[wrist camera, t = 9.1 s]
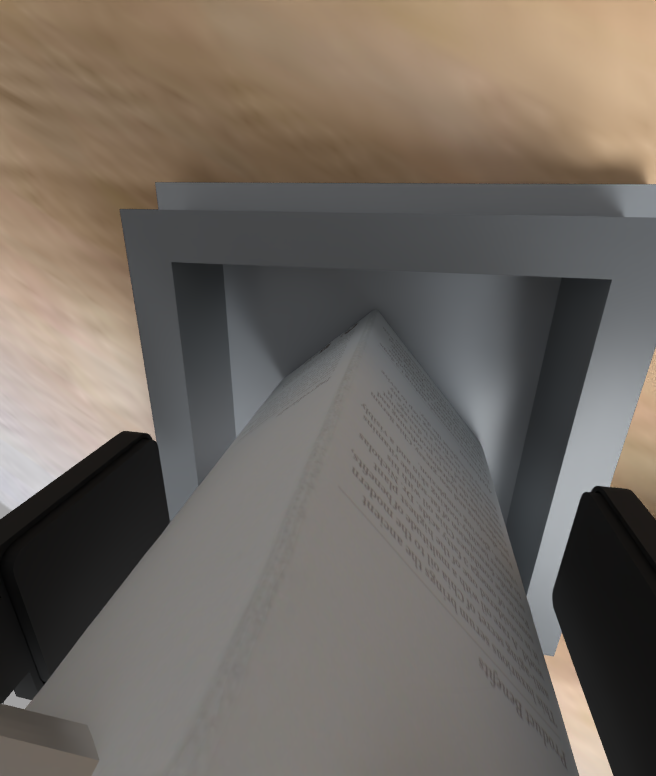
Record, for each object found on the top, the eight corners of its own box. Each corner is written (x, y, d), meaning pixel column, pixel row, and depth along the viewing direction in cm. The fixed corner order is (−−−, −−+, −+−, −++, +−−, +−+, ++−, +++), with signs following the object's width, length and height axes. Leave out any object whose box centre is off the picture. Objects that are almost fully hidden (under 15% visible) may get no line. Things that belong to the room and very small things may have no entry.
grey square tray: (649, 187, 11) (763, 171, 8) (539, 577, 16) (575, 679, 13) (172, 184, 14) (83, 172, 10) (210, 527, 19) (162, 600, 15)
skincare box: (278, 380, 14) (-155, 892, 3) (377, 304, 13) (158, 808, 2) (384, 504, 15) (315, 1198, 4) (488, 448, 14) (770, 1313, 3)
